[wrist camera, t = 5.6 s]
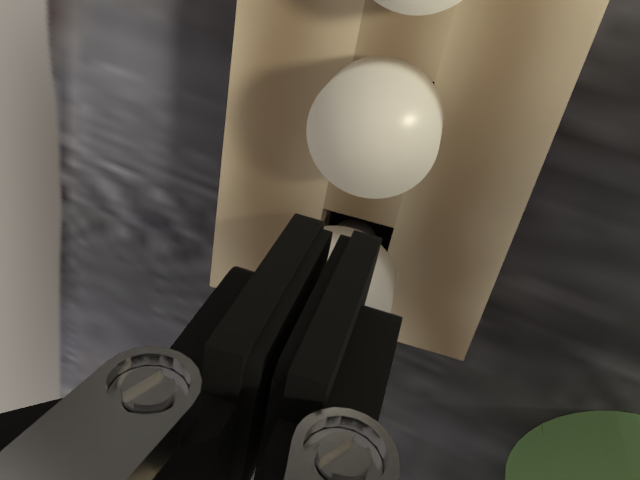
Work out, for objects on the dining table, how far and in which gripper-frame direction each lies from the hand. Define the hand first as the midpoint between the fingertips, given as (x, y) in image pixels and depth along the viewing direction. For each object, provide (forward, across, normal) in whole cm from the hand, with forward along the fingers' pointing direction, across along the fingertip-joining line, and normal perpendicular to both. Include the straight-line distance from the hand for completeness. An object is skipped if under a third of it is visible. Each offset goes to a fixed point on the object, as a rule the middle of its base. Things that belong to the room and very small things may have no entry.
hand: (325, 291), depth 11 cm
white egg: (+14, +1, 0) cm, 14 cm away
